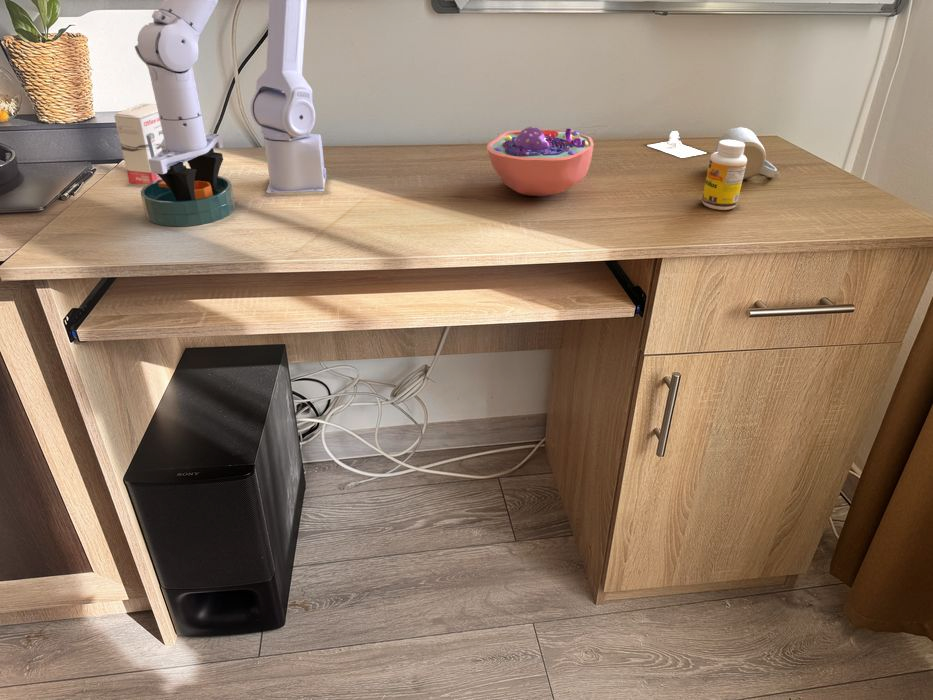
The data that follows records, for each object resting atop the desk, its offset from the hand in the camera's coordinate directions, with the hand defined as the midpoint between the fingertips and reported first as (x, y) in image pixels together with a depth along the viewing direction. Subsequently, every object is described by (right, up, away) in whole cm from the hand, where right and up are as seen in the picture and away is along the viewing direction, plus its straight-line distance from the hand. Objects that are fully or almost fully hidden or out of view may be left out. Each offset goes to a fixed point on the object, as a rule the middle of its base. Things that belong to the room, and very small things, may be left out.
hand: (199, 206), depth 105 cm
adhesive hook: (+84, +19, +35) cm, 93 cm away
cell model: (+54, +5, +12) cm, 55 cm away
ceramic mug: (+93, +10, +21) cm, 96 cm away
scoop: (-2, 0, +1) cm, 2 cm away
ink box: (-13, +8, +15) cm, 22 cm away
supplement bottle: (+83, +2, +7) cm, 83 cm away
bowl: (-2, -1, +1) cm, 2 cm away
